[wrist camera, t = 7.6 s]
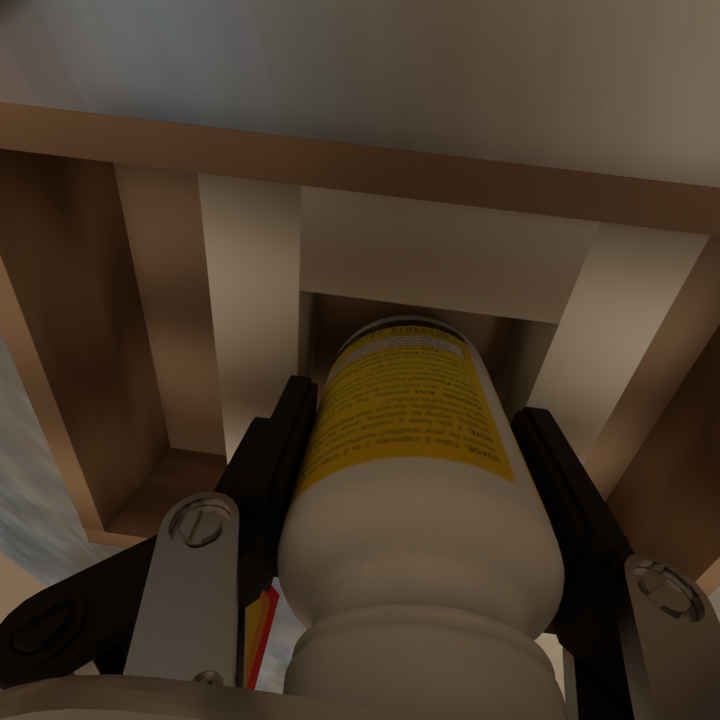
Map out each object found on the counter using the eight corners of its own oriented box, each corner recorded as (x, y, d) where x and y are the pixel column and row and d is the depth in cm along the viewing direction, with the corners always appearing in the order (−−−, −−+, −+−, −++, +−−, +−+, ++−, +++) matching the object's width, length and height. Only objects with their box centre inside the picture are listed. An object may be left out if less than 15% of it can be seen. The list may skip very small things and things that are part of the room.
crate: (101, 118, 12) (-100, 90, 7) (794, 200, 11) (1089, 232, 6) (168, 443, 19) (89, 542, 14) (600, 504, 18) (674, 629, 13)
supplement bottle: (299, 369, 13) (120, 764, 5) (423, 276, 11) (517, 668, 3) (391, 460, 15) (387, 868, 6) (513, 394, 13) (748, 861, 4)
